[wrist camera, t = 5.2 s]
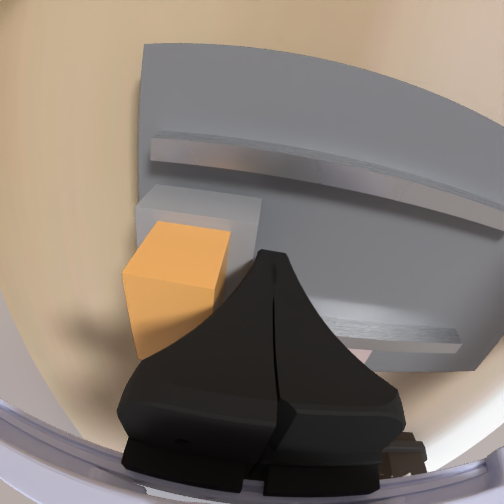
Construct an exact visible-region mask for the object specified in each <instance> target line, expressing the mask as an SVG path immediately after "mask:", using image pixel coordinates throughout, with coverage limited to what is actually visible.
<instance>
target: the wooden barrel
mask: <svg viewBox="0 0 504 504" xmlns="http://www.w3.org/2000/svg"><path fill="white" fill-rule="evenodd" d="M382 459H383V461H382V463H381V464H380V465H378V469H379V480H382V479H391V478H398V477H405V476H411V475H417V474H423V473H427V470H426V467H425V464H424V462H425V461H426V460H427V455H426V450H425V446H424V445H423V443H422V442H421V441H416V440H415V438H414V435H413V433H409V432H402V433H401V434H400V435H399V436H398V437H397V438H396V439H395V440H394V441H393V442H391V443H390V444H389V445H388V446H387V447H385V448H384V449H383V450H382Z"/></svg>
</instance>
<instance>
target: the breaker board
mask: <svg viewBox="0 0 504 504" xmlns="http://www.w3.org/2000/svg"><path fill="white" fill-rule="evenodd" d="M156 184H159V185H167V186H176V187H184V188H192V189H200V190H207V191H214V192H222V193H229V194H236V195H242V196H249V197H256V198H262V203H261V210H260V217H259V224H258V230H257V236H256V242H255V249H254V255H253V261H252V264H253V262H254V260H255V258H256V256H257V252H258V251H259V250H261V249H264V250H271V251H277V252H283V253H286V254H287V256H288V258H289V260H290V263H291V265H292V267H293V270H294V272H295V274H296V276H297V278H298V280H299V282H300V284H301V286H302V287H303V289H304V291H305V293H306V295H307V296H308V298H309V300H310V301H311V303H312V304H313V306H314V308H315V309H316V311H317V312H318V314H319V315H320V317H321V318H322V319H323V321H324V322H325V323H326V325H327V326H328V327H329V328H330V330H331V331H332V332H333V333H334V334H335V336H336V337H337V338H338V339H339V340H340V341H341V342H342V343H343V344H344V345H345V346H346V347H347V348H348V349H349V350H350V351H351V352H352V353H353V354H354V355H355V356H356V357H357V358H358V359H359V360H360V361H361V362H362V363H364V364H365V365H366V366H367V367H368V368H369V369H370V370H372V371H383V372H454V371H475V369H476V368H477V367H478V366H479V365H480V364H481V362H482V361H483V360H484V359H485V358H486V356H487V355H488V354H489V353H490V351H491V350H492V349H493V348H494V346H495V345H496V344H497V342H498V341H499V340H500V338H501V337H502V336H503V334H504V127H503V126H501V125H500V124H498V123H496V122H494V121H492V120H490V119H489V118H487V117H485V116H483V115H481V114H479V113H477V112H475V111H473V110H471V109H469V108H467V107H464V106H462V105H460V104H458V103H456V102H453V101H451V100H449V99H447V98H444V97H442V96H440V95H437V94H435V93H432V92H430V91H427V90H425V89H422V88H419V87H417V86H414V85H411V84H409V83H406V82H403V81H400V80H397V79H394V78H391V77H388V76H385V75H382V74H378V73H375V72H372V71H368V70H365V69H361V68H358V67H354V66H350V65H346V64H342V63H338V62H334V61H329V60H325V59H320V58H315V57H310V56H305V55H300V54H294V53H288V52H282V51H275V50H268V49H260V48H252V47H242V46H231V45H216V44H192V43H161V44H144V50H143V60H142V72H141V86H140V103H139V131H138V186H139V202H140V200H141V199H142V198H143V197H144V196H145V195H146V194H147V193H148V192H149V191H150V190H151V189H152V188H153V187H154V186H155V185H156Z"/></svg>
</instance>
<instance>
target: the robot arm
mask: <svg viewBox="0 0 504 504" xmlns="http://www.w3.org/2000/svg"><path fill="white" fill-rule="evenodd" d="M117 414H118V418H119V420H120V421H121V423H122V425H123V427H124V429H125V431H126V433H127V435H128V436H129V438H128V441H127V444H126V447H125V450H124V453H121V452H118V451H115V450H112V449H109V448H106V447H103V446H100V445H97V444H95V443H92V442H89V441H87V440H84V439H82V438H79V437H76V436H74V435H72V434H70V433H67V432H65V431H63V430H60V429H58V428H56V427H54V426H52V425H49V424H47V423H45V422H43V421H41V420H39V419H37V418H35V417H33V416H31V415H29V414H27V413H25V412H24V411H22V410H20V409H18V408H16V407H14V406H13V405H11V404H9V403H7V402H6V401H4V400H2V399H1V398H0V479H1V480H3V481H4V482H5V483H7V484H8V485H10V486H11V487H13V488H14V489H16V490H17V491H19V492H20V493H22V494H23V495H25V496H27V497H28V498H30V499H32V500H33V501H35V502H37V503H39V504H207V503H197V502H182V501H176V500H171V499H165V498H160V497H155V496H151V495H148V494H147V493H146V489H145V487H142V486H140V485H143V486H146V487H150V488H154V489H158V490H162V491H165V492H169V493H174V494H179V495H183V496H188V497H193V498H198V499H204V500H210V501H216V502H223V503H230V504H504V446H503V447H501V448H499V449H497V450H495V451H494V452H492V453H491V454H489V455H488V456H487V457H486V458H484V459H481V460H478V461H474V462H471V463H467V464H463V465H459V466H455V467H451V468H447V469H443V470H438V471H433V472H428V473H423V474H417V475H411V476H405V477H398V478H391V479H382V480H379V469H378V465H380V464H381V463H382V461H383V459H382V450H383V449H384V448H385V447H387V446H388V445H389V444H390V443H391V442H393V441H394V440H395V439H396V438H397V437H398V436H399V435H400V434H401V433H402V432H403V430H404V428H405V425H406V421H405V416H404V411H403V406H402V402H401V399H400V397H399V393H398V390H397V389H396V388H394V387H393V386H392V385H390V384H389V383H388V382H386V381H385V380H384V379H382V378H381V377H379V376H378V375H377V374H375V373H374V372H373V371H372V370H370V369H369V368H368V367H367V366H366V365H365V364H364V363H362V362H361V361H360V360H359V359H358V358H357V357H356V356H355V355H354V354H353V353H352V352H351V351H350V350H349V349H348V348H347V347H346V346H345V345H344V344H343V343H342V342H341V341H340V340H339V339H338V338H337V337H336V336H335V334H334V333H333V332H332V331H331V330H330V328H329V327H328V326H327V325H326V323H325V322H324V321H323V319H322V318H321V317H320V315H319V314H318V312H317V311H316V309H315V308H314V306H313V304H312V303H311V301H310V300H309V298H308V296H307V295H306V293H305V291H304V289H303V287H302V286H301V284H300V282H299V280H298V278H297V276H296V274H295V272H294V270H293V267H292V265H291V263H290V260H289V258H288V256H287V254H286V253H283V252H277V251H271V250H264V249H261V250H259V251H258V252H257V256H256V258H255V260H254V262H253V264H252V266H251V268H250V269H249V271H248V272H247V274H246V275H245V277H244V278H243V280H242V281H241V283H240V284H239V285H238V286H237V288H236V289H235V290H234V291H233V292H232V294H231V295H230V296H229V297H228V298H227V299H226V300H225V302H224V303H223V304H222V305H221V306H220V307H219V308H218V309H217V310H216V311H215V312H213V313H212V314H211V315H210V316H209V317H208V318H207V319H205V320H204V321H203V322H202V323H201V324H200V325H198V326H197V327H196V328H194V329H193V330H192V331H190V332H189V333H187V334H186V335H184V336H183V337H181V338H180V339H179V340H177V341H176V342H174V343H173V344H171V345H169V346H168V347H166V348H164V349H162V350H160V351H158V352H157V353H155V354H153V355H151V356H149V357H147V358H145V359H143V360H142V361H141V363H140V364H139V365H138V367H137V368H136V370H135V371H134V373H133V375H132V376H131V378H130V380H129V381H128V383H127V385H126V387H125V389H124V392H123V394H122V397H121V400H120V403H119V405H118V408H117ZM132 482H133V483H132ZM135 483H136V484H135ZM137 484H139V485H137Z"/></svg>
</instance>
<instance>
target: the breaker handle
mask: <svg viewBox="0 0 504 504" xmlns="http://www.w3.org/2000/svg"><path fill="white" fill-rule="evenodd" d="M261 203H262V198H256V197H249V196H242V195H236V194H229V193H222V192H214V191H207V190H200V189H192V188H184V187H176V186H167V185H159V184H156V185H155V186H154V187H153V188H152V189H151V190H150V191H149V192H148V193H147V194H146V195H145V196H144V197H143V198H142V199H141V200H140V202H139V203H138V204H137V205H136V206H135V221H136V236H137V248H138V249H137V251H136V252H135V254H134V255H133V257H132V258H131V260H130V261H129V263H128V264H127V266H126V267H125V269H124V270H123V272H122V277H123V283H124V290H125V296H126V302H127V307H128V313H129V318H130V323H131V328H132V333H133V338H134V342H135V347H136V352H137V356H138V359H141V360H143V359H145V358H147V357H149V356H151V355H153V354H155V353H157V352H158V351H160V350H162V349H164V348H166V347H168V346H169V345H171V344H173V343H174V342H176V341H177V340H179V339H180V338H181V337H183V336H184V335H186V334H187V333H189V332H190V331H192V330H193V329H194V328H196V327H197V326H198V325H200V324H201V323H202V322H203V321H204V320H205V319H207V318H208V317H209V316H210V315H211V314H212V313H213V312H215V311H216V310H217V309H218V308H219V307H220V306H221V305H222V304H223V303H224V302H225V300H226V299H227V298H228V297H229V296H230V295H231V294H232V292H233V291H234V290H235V289H236V288H237V286H238V285H239V284H240V283H241V281H242V280H243V278H244V277H245V275H246V274H247V272H248V271H249V269H250V268H251V266H252V261H253V255H254V249H255V242H256V236H257V230H258V224H259V217H260V210H261Z"/></svg>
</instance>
